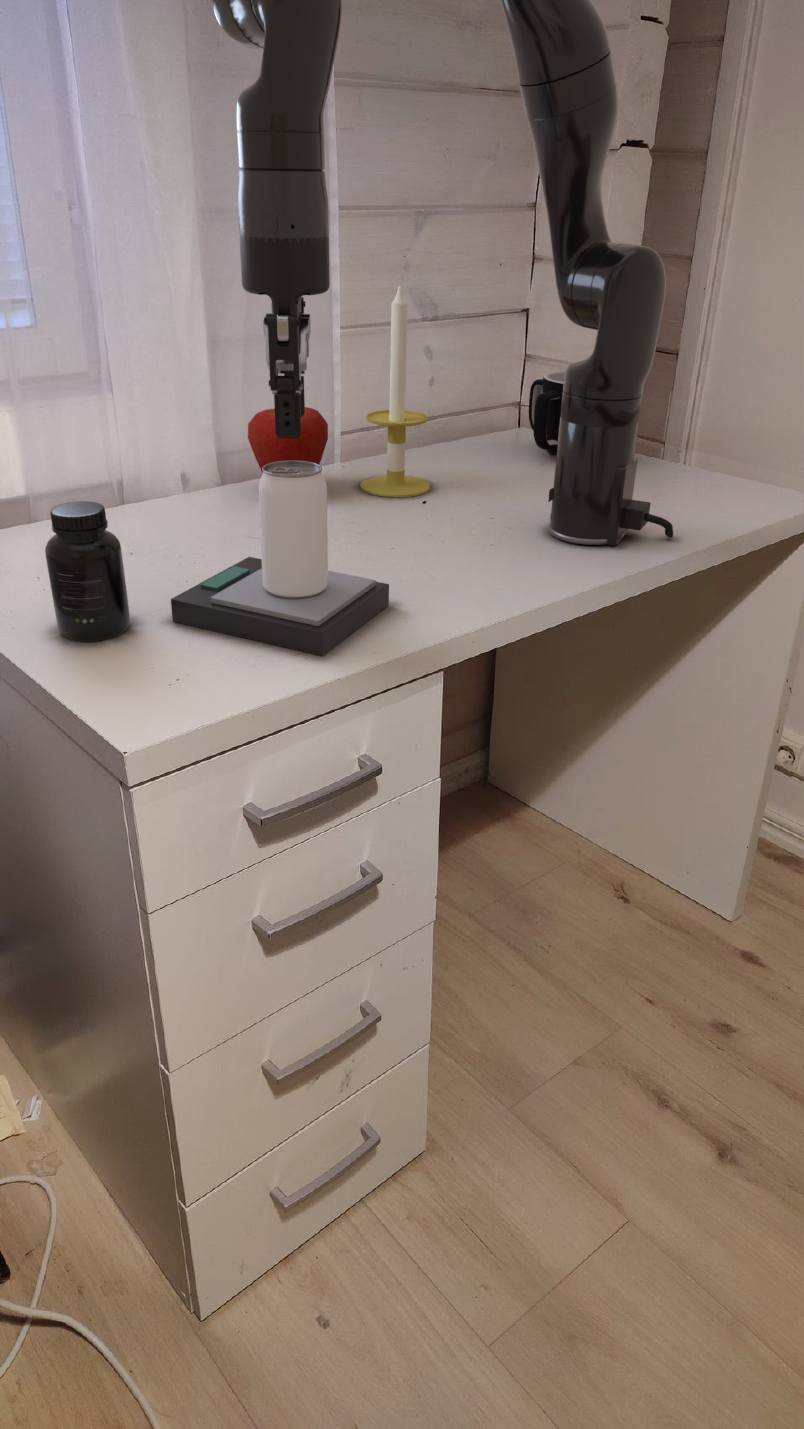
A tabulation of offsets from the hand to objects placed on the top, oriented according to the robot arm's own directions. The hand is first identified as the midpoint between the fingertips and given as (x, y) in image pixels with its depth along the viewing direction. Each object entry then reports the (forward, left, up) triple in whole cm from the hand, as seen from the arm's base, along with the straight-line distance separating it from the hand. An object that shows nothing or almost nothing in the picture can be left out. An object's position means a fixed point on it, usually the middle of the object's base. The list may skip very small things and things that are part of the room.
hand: (291, 426), depth 93 cm
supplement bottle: (+16, +12, -19) cm, 27 cm away
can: (0, 0, -16) cm, 16 cm away
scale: (+2, 0, -19) cm, 19 cm away
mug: (-5, -79, -19) cm, 81 cm away
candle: (+12, -47, -19) cm, 52 cm away
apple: (+24, -38, -19) cm, 49 cm away
